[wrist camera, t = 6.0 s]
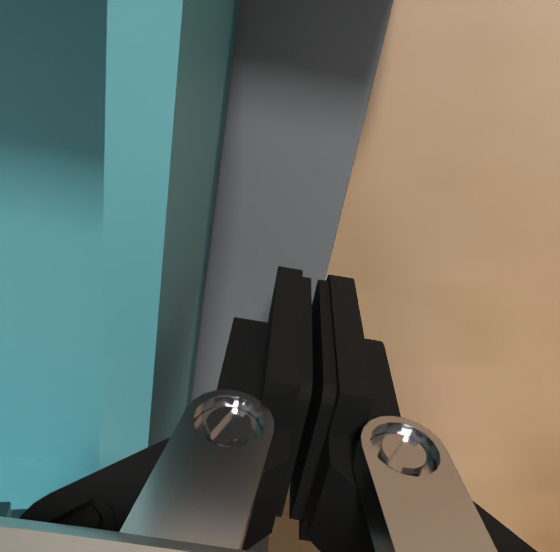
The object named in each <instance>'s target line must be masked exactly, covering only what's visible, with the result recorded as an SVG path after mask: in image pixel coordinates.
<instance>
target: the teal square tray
mask: <svg viewBox="0 0 560 552" xmlns="http://www.w3.org/2000/svg"><path fill="white" fill-rule="evenodd" d="M239 5H240V0H0V502H11V510H14V509H28V508H29V507H30V506H31V505H32V504H33V503H34V502H36V501H38V500H39V499H41V498H43V497H44V496H46V495H48V494H49V493H51V492H54V491H56V490H58V489H60V488H62V487H64V486H66V485H68V484H71V483H73V482H75V481H77V480H79V479H81V478H83V477H86V476H88V475H90V474H92V473H94V472H96V471H98V470H101V469H103V468H105V467H107V466H109V465H111V464H113V463H116V462H118V461H120V460H122V459H124V458H126V457H128V456H130V455H133V454H135V453H137V452H139V451H141V450H143V449H145V448H148V447H150V446H152V445H154V444H156V443H158V442H160V441H163V440H165V439H167V438H169V437H171V436H172V434H173V432H174V430H175V428H176V426H177V424H178V423H179V421H180V419H181V417H182V415H183V413H184V412H185V410H186V408H187V407H188V405H189V404H190V401H191V393H192V385H193V377H194V368H195V360H196V352H197V344H198V336H199V328H200V320H201V312H202V304H203V296H204V288H205V280H206V271H207V263H208V255H209V247H210V239H211V231H212V223H213V215H214V207H215V199H216V191H217V183H218V175H219V166H220V158H221V150H222V142H223V134H224V126H225V118H226V110H227V102H228V94H229V86H230V78H231V69H232V61H233V53H234V45H235V37H236V29H237V21H238V13H239Z"/></svg>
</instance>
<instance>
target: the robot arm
mask: <svg viewBox="0 0 560 552" xmlns="http://www.w3.org/2000/svg"><path fill="white" fill-rule="evenodd" d="M289 484H290V509H289V516H290V518H291V519H297V520H299V539H300V540H307V541H311V542H312V543H313V544H314V545H315V546H316V547H317V548H318V549H319V550H320V551H321V552H537V551H536V550H534V549H533V548H532V547H531V546H529V545H528V544H527V543H526V542H524V541H523V540H522V539H520V538H519V537H518V536H517V535H515V534H514V533H513V532H512V531H510V530H509V529H508V528H507V527H505V526H504V525H503V524H501V523H500V522H499V521H498V520H496V519H495V518H494V517H493V516H491V515H490V514H489V513H488V512H486V511H485V510H484V509H482V508H481V507H480V506H479V505H477V504H476V503H475V502H474V501H472V499H471V497H470V495H469V493H468V491H467V489H466V487H465V485H464V483H463V481H462V479H461V477H460V475H459V473H458V471H457V469H456V467H455V465H454V463H453V461H452V459H451V457H450V455H449V453H448V451H447V449H446V448H445V446H444V445H443V443H442V442H441V440H440V439H439V438H438V437H437V436H436V435H435V434H433V433H432V432H431V431H430V430H429V429H427V428H425V427H424V426H422V425H420V424H419V423H417V422H414V421H412V420H409V419H406V418H402V417H401V416H400V412H399V407H398V403H397V399H396V394H395V390H394V386H393V381H392V377H391V373H390V368H389V364H388V360H387V356H386V351H385V347H384V344H383V342H381V341H376V340H370V339H364V333H363V328H362V322H361V316H360V311H359V305H358V299H357V294H356V288H355V282H354V279H352V278H346V277H340V276H334V275H328V277H327V280H326V281H325V280H319V279H318V281H317V285H316V289H315V293H314V298H313V302H312V295H311V278H308V277H303V270H299V269H293V268H287V267H282V266H278V269H277V274H276V280H275V285H274V291H273V296H272V302H271V307H270V312H269V318H268V322H262V321H256V320H250V319H244V318H238V317H234V319H233V323H232V327H231V332H230V336H229V340H228V344H227V348H226V353H225V357H224V361H223V365H222V369H221V373H220V378H219V382H218V386H217V390H214V391H211V392H207V393H204V394H202V395H200V396H199V397H197V398H195V399H194V400H193V401H192V402H191V403H190V404H189V405H188V407H187V408H186V410H185V412H184V413H183V415H182V417H181V419H180V421H179V423H178V424H177V426H176V428H175V430H174V432H173V434H172V436H171V437H169V438H167V439H165V440H163V441H160V442H158V443H156V444H154V445H152V446H150V447H148V448H145V449H143V450H141V451H139V452H137V453H135V454H133V455H130V456H128V457H126V458H124V459H122V460H120V461H118V462H116V463H113V464H111V465H109V466H107V467H105V468H103V469H101V470H98V471H96V472H94V473H92V474H90V475H88V476H86V477H83V478H81V479H79V480H77V481H75V482H73V483H71V484H68V485H66V486H64V487H62V488H60V489H58V490H56V491H54V492H51V493H49V494H48V495H46V496H44V497H43V498H41V499H39V500H38V501H36V502H34V503H33V504H32V505H31V506H30V507H29V508H28V509H14V510H11V502H0V552H253V551H248V549H249V548H251V547H252V546H254V545H255V544H256V543H258V542H259V541H261V540H262V539H263V538H265V537H266V536H268V535H269V534H270V533H272V529H273V525H274V521H275V517H276V516H278V517H281V516H282V512H283V508H284V504H285V500H286V496H287V492H288V488H289Z"/></svg>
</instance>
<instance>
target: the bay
mask: <svg viewBox="0 0 560 552" xmlns="http://www.w3.org/2000/svg"><path fill="white" fill-rule="evenodd" d="M392 4H393V0H240V5H239V13H238V21H237V29H236V37H235V45H234V53H233V61H232V69H231V78H230V86H229V94H228V102H227V110H226V118H225V126H224V134H223V142H222V150H221V158H220V166H219V175H218V183H217V191H216V199H215V207H214V215H213V223H212V231H211V239H210V247H209V255H208V263H207V271H206V280H205V288H204V296H203V304H202V312H201V320H200V328H199V336H198V344H197V352H196V360H195V368H194V377H193V385H192V393H191V401H190V403H191V402H192V401H193V400H194V399H195V398H197V397H199V396H200V395H202V394H204V393H207V392H211V391H214V390H217V386H218V382H219V378H220V373H221V369H222V365H223V361H224V357H225V353H226V348H227V344H228V340H229V336H230V332H231V327H232V323H233V319H234V317H238V318H244V319H250V320H256V321H262V322H268V318H269V312H270V307H271V302H272V296H273V291H274V285H275V280H276V274H277V269H278V266H282V267H287V268H293V269H299V270H303V277H308V278H311V295H312V302H313V298H314V293H315V289H316V285H317V281H318V279H319V280H325V277H326V273H327V269H328V265H329V261H330V257H331V253H332V249H333V244H334V240H335V236H336V232H337V228H338V224H339V220H340V216H341V212H342V208H343V204H344V200H345V195H346V191H347V187H348V183H349V179H350V175H351V171H352V167H353V163H354V159H355V155H356V151H357V147H358V142H359V138H360V134H361V130H362V126H363V122H364V118H365V114H366V110H367V106H368V102H369V98H370V94H371V89H372V85H373V81H374V77H375V73H376V69H377V65H378V61H379V57H380V53H381V49H382V45H383V40H384V36H385V32H386V28H387V24H388V20H389V16H390V12H391V8H392ZM268 539H269V535H268V536H266V537H265V538H263V539H262V540H261V541H259V542H258V543H256V544H255V545H254V546H252V547H251V548H249V549H248V551H253V552H268Z"/></svg>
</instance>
